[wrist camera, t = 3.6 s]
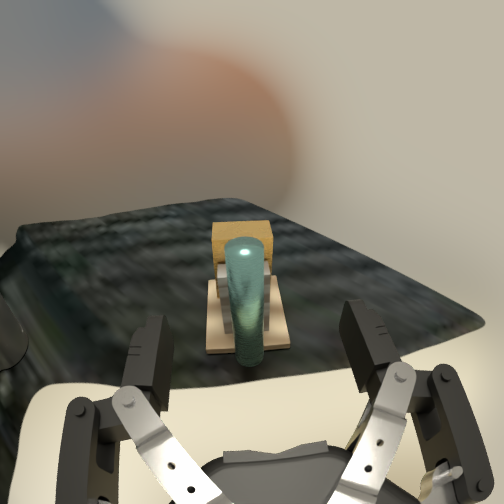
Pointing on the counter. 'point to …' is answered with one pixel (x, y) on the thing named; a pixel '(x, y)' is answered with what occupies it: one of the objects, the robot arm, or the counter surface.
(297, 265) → the counter surface
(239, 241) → the shaft
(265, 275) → the frame
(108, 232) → the counter surface
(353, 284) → the counter surface
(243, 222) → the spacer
